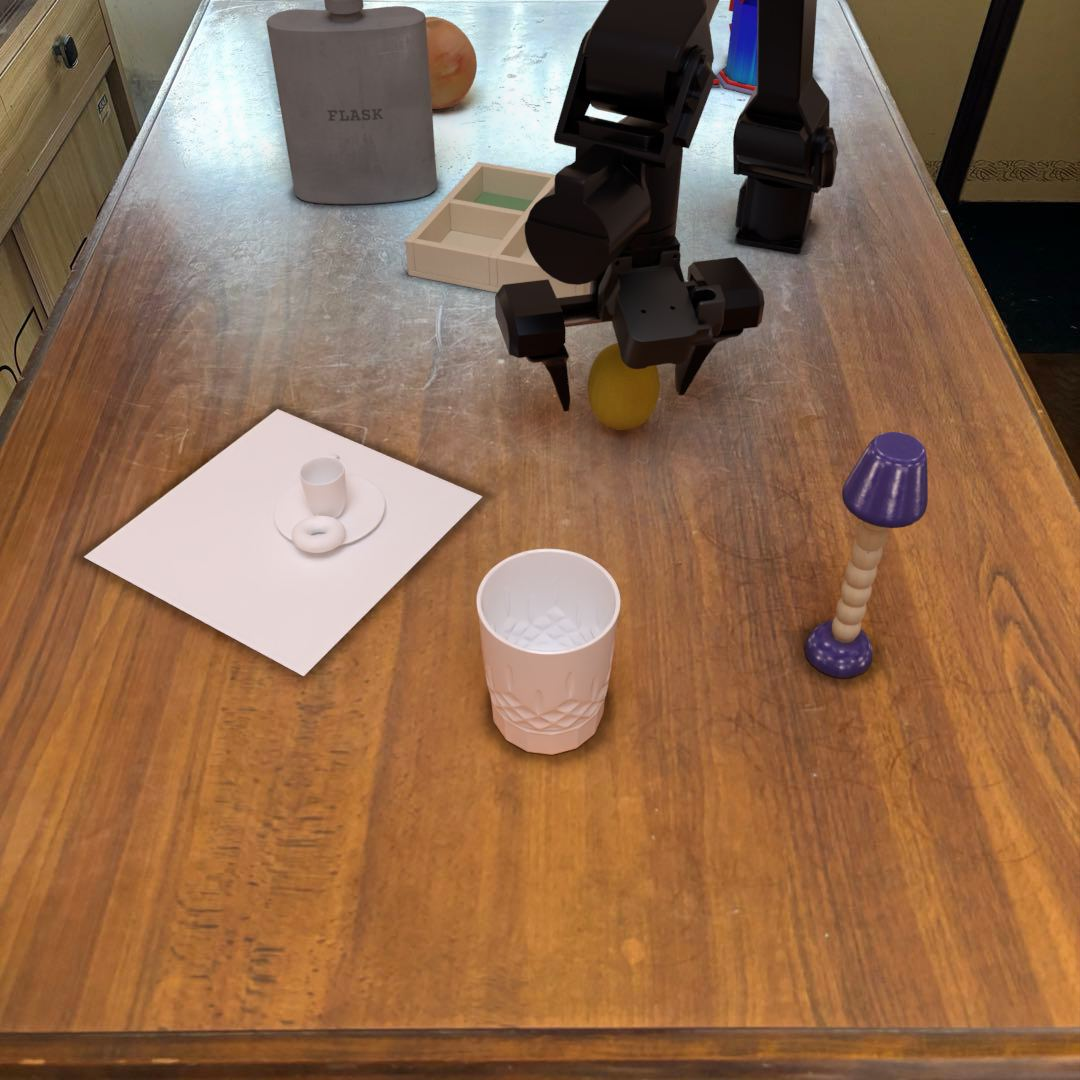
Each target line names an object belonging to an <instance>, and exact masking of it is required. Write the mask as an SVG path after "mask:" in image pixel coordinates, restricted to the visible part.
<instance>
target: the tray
mask: <svg viewBox="0 0 1080 1080" xmlns="http://www.w3.org/2000/svg"><path fill="white" fill-rule="evenodd" d="M555 176H556V174H553V173H548V172H543V171H536V170H529V169H524V168H519V167H513V166H506V165H500V164H495V163H494V164H493V163H489V162H488V163H487V162H481V161H477V162H476V163H475V164H474V165H473V166H472V167H471V168H470V170H469V171H468V172H467V173H466V174H465V175H464V176H463V178H461V180H460V181H459V182H457V184H456V185H455V186H454V187H453V188H452V189H451V190H450V192H448V194H447V195H445V197H444V198H443V199H442V200H441V202H439V204H438V205H437V206H436V207H435V208H434V209H433V210H432V211H431V212H430V213H429V214H428V216H427V217H426V218H425V219H424V220H423V221H422V222H421V223H420V224H419V226H417V227H416V229H415V230H414V231H413V232H412V233H411V234H410V235H409V236H408V237H407V239H405V241H404V243H405V251H406V262H407V272H408V273H407V274H408V276H411V277H416V278H421V279H426V280H430V281H435V282H440V283H441V282H442V283H446V284H450V285H457V286H461V287H466V288H471V289H477V290H481V291H487V292H491V293H495V294H497V292H498V291H499V290H500V288H501V287H502V285H505V284H513V283H521V282H530V281H538V280H547V279H549V282H550V284H551V286H552V288H553V291H554V293H555V295H556V297H557V298H562V297H571V296H579V295H587V294H590V282H589V283H586V284H581V285H574V284H566V283H563V282H561V281H559V280H557V279H555V278H553V277H551V276H550V275H549V274H547V273H546V272H545V271H543V270H542V268H541V267H540V266H539V265H538V264H537V263H536V262H535V260H534V258H533V257H532V255H531V253H530V251H529V248H528V246H527V243H526V237H525V223H526V221H527V219H528V216H529V213H530V211H531V209H532V208H533V206H534V205H535V203H537V202H538V201H539V200H540V199H541V198H542V197H543V196H545V195H546V194H547V193H548V192H549V191H550V190H551V189H553V188H554V187H555Z"/></svg>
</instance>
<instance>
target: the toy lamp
mask: <svg viewBox="0 0 1080 1080" xmlns="http://www.w3.org/2000/svg"><path fill="white" fill-rule="evenodd" d="M928 479H929V478H928V453H927V449H926V448H925V446H924V444H923V443H922V442H921V441H920V440H919V439H917V438H916V437H915V436H912V435H911V434H909V433H906V432H899V431H886V432H885V431H884V432H882V433H879V434H877V435H876V436H874V438H872V439H871V441H870V442H869V443H868V445H867V446H866V447H865V449H864V451H863V452H862V454H861V455H860V457H859V459H858V460H857V462H856V463H855V465H854V467H853V468H852V469H851V471H850V473H849V475H848V476H847V478H846V479H845V481H844V484H843V486H842V490H841V498H842V502H843V504H844V506H845V507H846V509H847V510H848V511H849V513H851V514H852V515H853V516H855V518H857V519H858V520H861V522H860V523H859V524H858V526H857V528H856V531H855V532H856V533H855V535H856V538H855V539H856V540H855V542H854V543H853V545H852V547H851V551H850V558H851V559H850V560H849V561H848V563H847V565H846V568H845V573H844V574H845V579H844V580H843V582H842V584H841V587H840V598H839V599H838V601H837V604H836V610H835V611H836V615H835V616H834V618H833V619H831V620H827V621H825V622H822V623H820V624H818V625H817V626H816V627H814V628H813V629H812V630H811V632H809V634H808V636H807V637H806V640H805V643H804V654H805V657H806V659H807V660H808V662H809V663H810V664H811V665H812V666H813V667H814V668H816V670H818V671H820V672H821V673H824V674H825V675H827V676H831V677H834V678H843V679H848V678H853V677H856V676H859V675H861V674H863V673H865V672H866V671H867V670H868V669H869V668H870V666H871V665H872V661H873V656H874V655H873V646H872V643H871V640H870V638H869V636H868V635H867V633H866V632H864V630H863V629H862V620H863V619H864V618H865V615H866V613H867V606H868V605H867V602H869V600H870V599H871V597H872V593H873V586H872V585H873V583H874V582H875V580H876V578H877V575H878V574H877V573H878V566H877V565H878V564H880V562H881V560H882V557H883V551H884V550H883V546H884V545H885V544H886V542H887V541H888V538H889V533H890V531H889V530H890V529H899V528H901V529H902V528H906V527H909V526H912V525H913V524H916V523H917V522H919V521H920V520H921V519H922V518H923V516H925V514H926V511H927V507H928V502H929V499H928V498H929V491H928V490H929V488H928V487H929V485H928V483H929V482H928V481H929V480H928Z"/></svg>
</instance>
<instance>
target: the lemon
mask: <svg viewBox="0 0 1080 1080" xmlns="http://www.w3.org/2000/svg"><path fill="white" fill-rule="evenodd" d="M660 391H661V382H660V374H659V369H658V365H653V366H648V367H646V368H644V369H632V368H630V367H628V366H626V365H625V364H624V362H623V361H622V359H621V355H620V349H619V345H618V342H615V343H614V342H613V343H612V344H610V345H607V346H606V347H605V348H604V349H602V350H601V351H600V352H599V353H598V354H597V355H596V357H595V358H594V360H593V362H592V364H591V366H590V370H589V374H588V379H587V385H586V392H587V395H586V396H587V399H588V404H589V407H590V410H591V412H592V413H593V415H594V416H595V418H596V419H597V420H598V421H599V422H600V423H601V424H603V425H604V426H606V427H608V428H610V429H614V430H618V431H626V430H632V429H635V428H638V427H640V426H641V425H642V424H644V423H645V422H646V421H648V419H649V418H650V417H651V415H653V413H654V411H655V409H656V407H657V403H658V401H659V397H660Z"/></svg>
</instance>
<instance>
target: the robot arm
mask: <svg viewBox="0 0 1080 1080" xmlns="http://www.w3.org/2000/svg"><path fill="white" fill-rule="evenodd" d="M719 3H720V0H607V2H606V3H605V5H604V6H603V8H601V11H600V13H599V14H598V16H597V17H596V19H595V20H594V22H593V23H592V25H591V27H590V28H589V29H588V30H587V31H586V32H585V33H584V36H583V37H582V40H581V42H580V45H579V48H578V50H577V55H576V58H575V62H574V65H573V69H572V71H571V76H570V79H569V82H568V86H567V89H566V93H565V96H564V100H563V103H562V107H561V109H560V110H561V111H560V114H559V118H558V121H557V124H556V128H555V132H554V134H553V135H554V136H553V142H554V143H555V144H557V145H562V146H567V147H571V148H574V149H575V154H574V156H575V157H574V158H575V159H574V161H573V162H572V163H570V164H568V165H565V166H564V167H563V168H561V169H560V170H559V171H558V172H557V173H555V175H556V176H555V187H554V188H553V189H551V190H550V191H549V192H548V193H547V194H546V195H545V196H543V197H542V198H541V199H540V200H539V201H538V202H537V203H535V205H534V206H533V208H532V209H531V211H530V213H529V216H528V219H527V221H526V223H525V237H526V243H527V246H528V248H529V251H530V253H531V255H532V257H533V258H534V260H535V262H536V263H537V264H538V265H539V266H540V267H541V268H542V270H543V271H545V272H546V273H547V274H549V275H550V276H551V277H553V278H555V279H557V280H559V281H561V282H563V283H566V284H574V285H581V284H586V283H589V282H590V294H587V295H579V296H571V297H562V298H557V297H556V295H555V293H554V291H553V288H552V286H551V284H550V282H549V279H547V280H538V281H530V282H521V283H513V284H505V285H502V287H501V288H500V290H499V291H498V292H497V293H495V295H494V309H495V310H494V311H495V319H496V321H497V325H498V327H499V329H500V332H501V333H500V334H501V335H502V338H503V341H504V343H505V347H506V349H507V352H508V354H509V355H510V356H512V357H514V358H517V359H522V358H525V359H526V360H527V361H528V362H529V363H532V364H537V363H542V364H543V365H544V367H545V369H546V370H547V372H548V373H549V375H550V378H551V381H552V384H553V386H554V389H555V392H556V394H557V395H556V396H558V397H557V398H558V400H559V403H560V405H561V408H562V410H563V413H566V412H570V405H571V395H570V394H571V393H570V391H571V390H570V381H569V374H568V373H569V372H568V363H567V362H568V360H569V358H570V355H569V353H568V350H567V348H566V345H565V344H566V331H567V329H566V328H570V327H571V328H572V327H578V326H579V327H580V326H585V325H586V326H587V325H594V324H602V323H612V324H611V325H612V328H613V331H614V335H615V338H616V343H618V345H619V349H620V355H621V359H622V361H623V362H624V364H625V365H626V366H628V367H630V368H632V369H644V368H646V367H648V366H653V365H657V366H660V365H667V364H672V365H674V388H675V391H676V393H677V395H678V396H679V397H680V396H681V397H682V396H685V395H686V393H687V391H688V389H689V388H690V386H691V385H692V383H693V381H694V380H695V377H696V376H697V374H698V372H699V371H700V369H701V367H702V366H703V364H704V362H705V361H706V359H707V357H708V355H709V354H710V353H711V352H712V350H714V348H715V346H716V345H717V344H719V343H720V342H722V341H725V340H728V339H731V338H737V337H739V336H741V335H742V334H743V332H744V330H746V329H753V328H758V327H759V325H761V324H762V322H763V315H764V309H765V303H766V302H765V297H764V296H765V295H764V291H763V289H762V288H761V287H760V285H759V284H758V283H757V281H756V280H755V277H753V275H752V274H751V273H750V271H749V270H748V268H747V266H746V265H745V264H744V263H743V262H742V261H741V260H740V259H739V258H738V257H737V256H734V257H733V256H732V257H723V258H717V259H707V260H698V261H693V262H692V263H691V264H690V265H689V266H688V270H687V276H686V277H687V278H686V279H687V280H686V281H685V277H684V273H683V269H682V265H681V257H682V256H681V243H680V241H679V240H678V238H677V237H676V231H677V223H678V221H677V219H678V209H679V199H680V189H681V188H680V187H681V179H682V177H681V176H682V168H683V167H682V165H683V158H684V157H683V156H684V149H688V150H689V149H690V146H691V144H692V142H693V139H694V136H695V133H696V131H697V128H698V126H699V122H700V120H701V118H702V116H703V115H702V114H703V112H704V110H705V107H706V105H707V101H708V99H709V96H710V93H711V91H712V85H713V81H714V74H715V72H714V70H713V63H714V60H715V56H714V55H715V54H714V47H713V41H712V33H711V25H710V24H711V21H712V19H713V16H714V14H715V11H716V9H717V7H718V5H719ZM817 8H818V0H757V86H756V88H755V90H754V92H753V93H752V95H750V97H749V99H748V101H747V103H746V104H745V106H744V108H743V110H742V111H741V112H740V114H739V116H738V118H737V120H736V123H735V126H734V130H733V137H732V150H733V151H732V159H733V160H732V161H733V165H732V166H733V175H736V176H740V175H741V176H744V177H746V178H745V179H744V181H743V183H742V184H741V186H740V188H739V193H738V199H737V207H736V215H735V220H734V221H735V222H734V226H735V228H736V229H738V230H737V233H736V234H735V239H734V241H735V242H736V243H739V244H744V245H749V246H755V247H760V248H766V249H772V250H778V251H783V252H790V253H797V254H798V253H799V254H800V253H801V252H802V250H803V247H804V245H805V243H806V240H807V238H808V234H809V232H810V229H811V227H812V223H813V219H812V218H811V216H812V210H813V206H814V205H813V204H814V199H815V194H819V193H820V191H821V190H822V189H827V188H832V186H833V185H834V182H835V176H836V170H837V158H838V155H839V149H838V144H837V141H836V136H835V135H836V134H835V131H834V128H833V127H831V126H830V123H831V122H830V119H831V118H830V115H831V114H830V112H831V111H830V110H831V109H830V108H831V107H830V104H831V103H830V99H829V97H828V96H827V94H826V93H825V92H824V90H823V89H822V88H821V86H820V84H819V83H818V82H817V80H816V79H815V77H814V74H813V73H814V60H815V59H814V58H815V41H816V39H815V38H816V23H817ZM590 105H591V107H592V108H594V109H595V110H598V111H603V112H607V113H611V114H616V115H621V116H624V117H623V118H622V119H620V120H618V122H617V121H613V120H609V119H604V118H599V117H595V116H590V115H586V114H587V111H588V110H589V107H590Z"/></svg>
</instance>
